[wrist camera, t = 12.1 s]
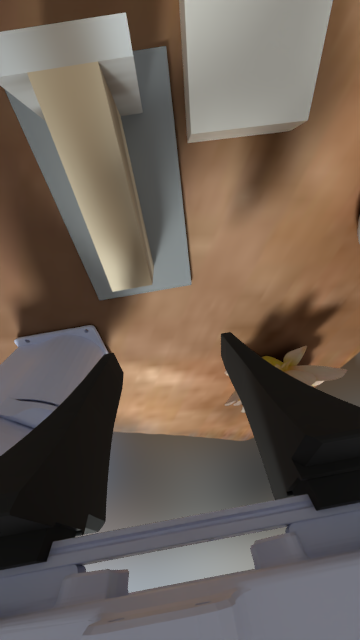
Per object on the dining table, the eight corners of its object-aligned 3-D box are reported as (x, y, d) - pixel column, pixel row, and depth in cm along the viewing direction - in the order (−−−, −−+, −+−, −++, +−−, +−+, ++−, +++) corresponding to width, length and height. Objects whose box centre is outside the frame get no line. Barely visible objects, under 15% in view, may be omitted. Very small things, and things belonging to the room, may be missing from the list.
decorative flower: (220, 410, 31) (247, 474, 21) (207, 358, 27) (232, 409, 18) (298, 385, 31) (358, 438, 22) (296, 331, 27) (368, 367, 18)
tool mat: (101, 298, 19) (99, 300, 18) (4, 78, 10) (-4, 72, 10) (190, 282, 19) (191, 284, 18) (165, 53, 10) (166, 45, 10)
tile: (191, 134, 11) (179, -95, 7) (186, 144, 13) (175, -36, 9) (308, 120, 11) (355, -110, 8) (287, 132, 13) (318, -49, 9)
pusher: (109, 273, 17) (92, 295, 13) (44, 104, 11) (-29, 36, 6) (168, 263, 17) (172, 281, 13) (138, 89, 11) (125, 12, 7)
